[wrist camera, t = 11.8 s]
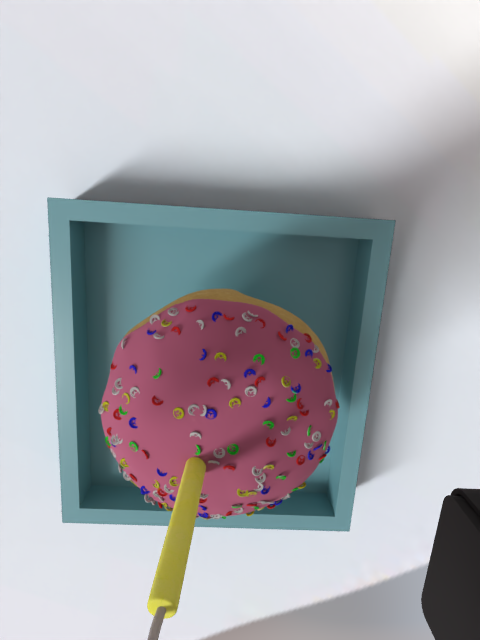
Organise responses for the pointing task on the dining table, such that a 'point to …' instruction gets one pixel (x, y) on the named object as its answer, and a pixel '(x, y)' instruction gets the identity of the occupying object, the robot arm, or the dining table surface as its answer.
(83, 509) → the tray
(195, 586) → the dining table surface
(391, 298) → the dining table surface
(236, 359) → the cupcake
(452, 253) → the dining table surface
